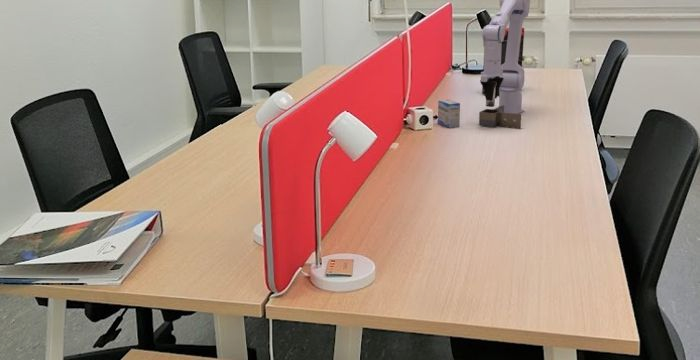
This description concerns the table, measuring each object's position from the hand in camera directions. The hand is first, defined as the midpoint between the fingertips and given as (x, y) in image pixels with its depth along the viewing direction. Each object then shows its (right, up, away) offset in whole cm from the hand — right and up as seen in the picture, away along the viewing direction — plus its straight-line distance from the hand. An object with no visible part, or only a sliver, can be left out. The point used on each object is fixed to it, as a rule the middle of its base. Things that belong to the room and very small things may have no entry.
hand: (491, 99), depth 268 cm
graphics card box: (+15, +8, +57) cm, 59 cm away
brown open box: (+4, -10, +1) cm, 10 cm away
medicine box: (-14, -9, +4) cm, 18 cm away
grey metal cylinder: (0, -2, +1) cm, 3 cm away
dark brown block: (+2, -8, +6) cm, 10 cm away
